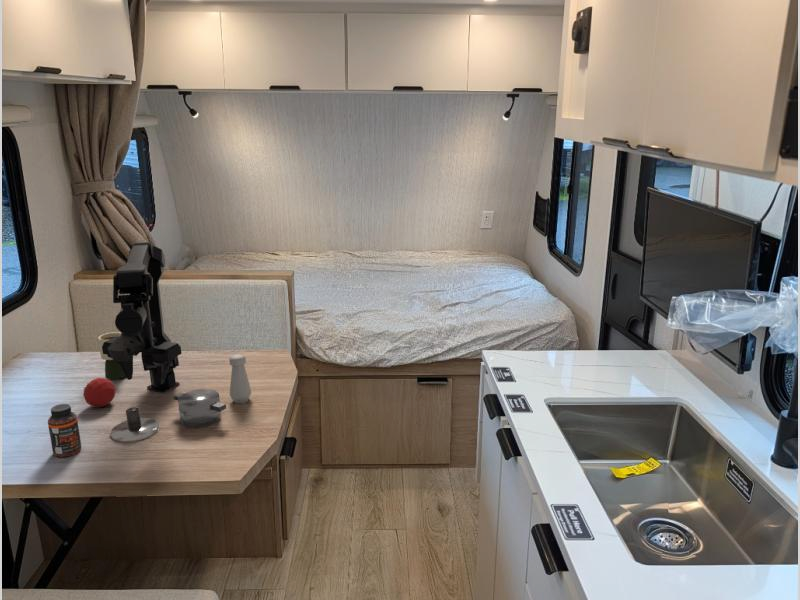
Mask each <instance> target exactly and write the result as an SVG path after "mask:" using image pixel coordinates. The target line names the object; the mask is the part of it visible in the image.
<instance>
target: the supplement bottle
mask: <svg viewBox="0 0 800 600" xmlns="http://www.w3.org/2000/svg"><path fill="white" fill-rule="evenodd" d="M71 407H72V406H71V405H70V404H69V403H60V404H57V405H54V406H52V407H51V408H50V414H51V416H50V417H48V419H47V426H48V432H49V433H48V434H49V438H50V443H51V449H52V454H53V455H54V456H56V457H58V458H68V457H71V456H73V454H74V455H76V454H77V453H79V452H80V451H81V449H82V441H81V435H80V428H79V422H78V416H77V414H76V413H75V412H73V411H72V408H71Z"/></svg>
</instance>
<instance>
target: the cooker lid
mask: <svg viewBox="0 0 800 600" xmlns="http://www.w3.org/2000/svg"><path fill="white" fill-rule="evenodd" d="M125 417H126V421H125V420H124V421H122V422H121V423H118V424H117V425H115V426H114V427H113V428H112V429H111V431H110V437H111V439H112V440H113V441H115V442H118V443H133V442H139V441H143V440H145V439H147V438H150V437H152V436H153V435H155V434H156V433H157V432H158V431H159V429H160V424H159V422H158V420H156V419H154V418H151V417H141V414H140V408H139V407H138V406H137V407H134V406H133V407H129V408H127V409H126V410H125Z"/></svg>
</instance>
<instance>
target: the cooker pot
mask: <svg viewBox="0 0 800 600" xmlns="http://www.w3.org/2000/svg"><path fill="white" fill-rule="evenodd" d="M172 398H173V400H174V401H177V404H178V412H179V420H180V424H181V425H182V427H184V428H189V429H201V427H202V428H206V426H207V427H210V426H213V425H215V424H216V423H218V422H219V421H220V420H221V419H220V418H222V412H223V411H224V410H227V404H226V403H223V402H221V401H220V400H221V399H220V394H219V392H218V391H217V390H214V389H209V388H202V389H193V390H190V391H188V392H185V393H184V392H181V391H179V392H177V393H175V394H173V395H172ZM217 421H218V422H217ZM214 423H215V424H214ZM212 424H213V425H212ZM209 425H210V426H209Z"/></svg>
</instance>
